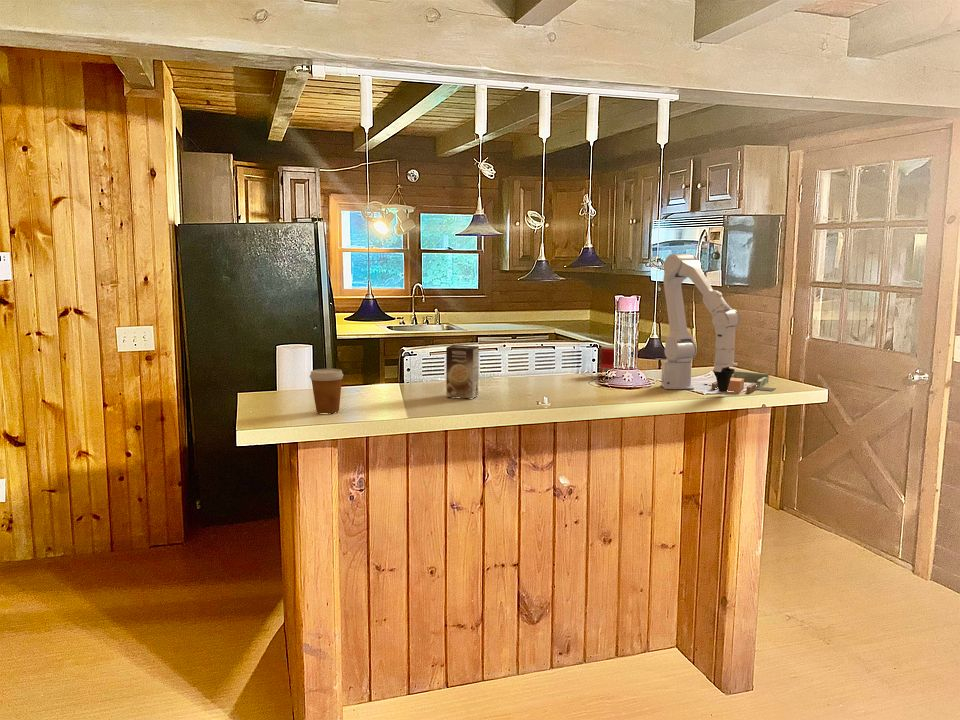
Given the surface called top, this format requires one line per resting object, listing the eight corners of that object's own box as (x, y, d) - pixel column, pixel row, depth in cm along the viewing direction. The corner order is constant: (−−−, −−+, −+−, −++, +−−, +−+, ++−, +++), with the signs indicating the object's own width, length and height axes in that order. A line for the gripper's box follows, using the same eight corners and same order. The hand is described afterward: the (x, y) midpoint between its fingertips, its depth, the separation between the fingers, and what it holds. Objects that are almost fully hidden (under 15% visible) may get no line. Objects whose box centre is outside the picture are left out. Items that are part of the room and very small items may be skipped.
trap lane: (750, 393, 244) (750, 384, 244) (711, 389, 251) (711, 380, 250) (768, 382, 264) (768, 373, 263) (731, 379, 271) (732, 370, 270)
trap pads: (772, 391, 247) (772, 390, 247) (703, 384, 260) (703, 384, 260) (775, 388, 252) (775, 388, 252) (707, 382, 264) (707, 382, 264)
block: (739, 393, 245) (740, 381, 244) (720, 392, 248) (721, 379, 247) (743, 390, 250) (744, 378, 250) (724, 389, 253) (725, 377, 252)
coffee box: (445, 398, 239) (444, 347, 236) (452, 394, 245) (451, 344, 242) (473, 399, 236) (472, 348, 234) (479, 396, 242) (479, 345, 240)
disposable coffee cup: (346, 408, 224) (345, 368, 222) (342, 415, 214) (341, 373, 213) (313, 409, 224) (312, 368, 222) (308, 416, 214) (306, 373, 212)
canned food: (624, 378, 274) (625, 347, 272) (602, 378, 274) (602, 347, 273) (621, 374, 282) (621, 344, 280) (599, 374, 282) (599, 344, 280)
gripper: (731, 352, 230) (729, 396, 232) (744, 346, 242) (742, 389, 244) (707, 350, 234) (706, 394, 236) (721, 345, 246) (719, 387, 248)
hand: (722, 391), depth 240 cm, fingers closed
